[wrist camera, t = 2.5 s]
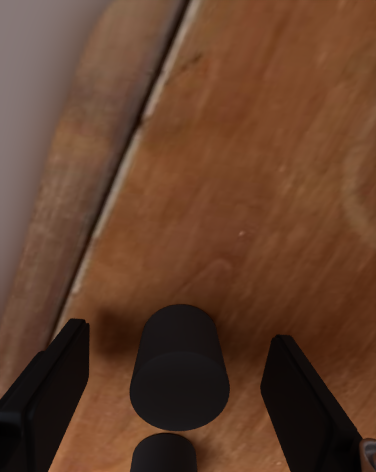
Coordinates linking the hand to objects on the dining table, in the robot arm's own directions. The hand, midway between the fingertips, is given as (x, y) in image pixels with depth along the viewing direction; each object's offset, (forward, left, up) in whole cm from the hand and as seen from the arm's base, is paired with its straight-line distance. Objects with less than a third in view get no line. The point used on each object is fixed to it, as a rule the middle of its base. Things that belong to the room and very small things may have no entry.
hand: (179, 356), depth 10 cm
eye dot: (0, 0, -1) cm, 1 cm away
